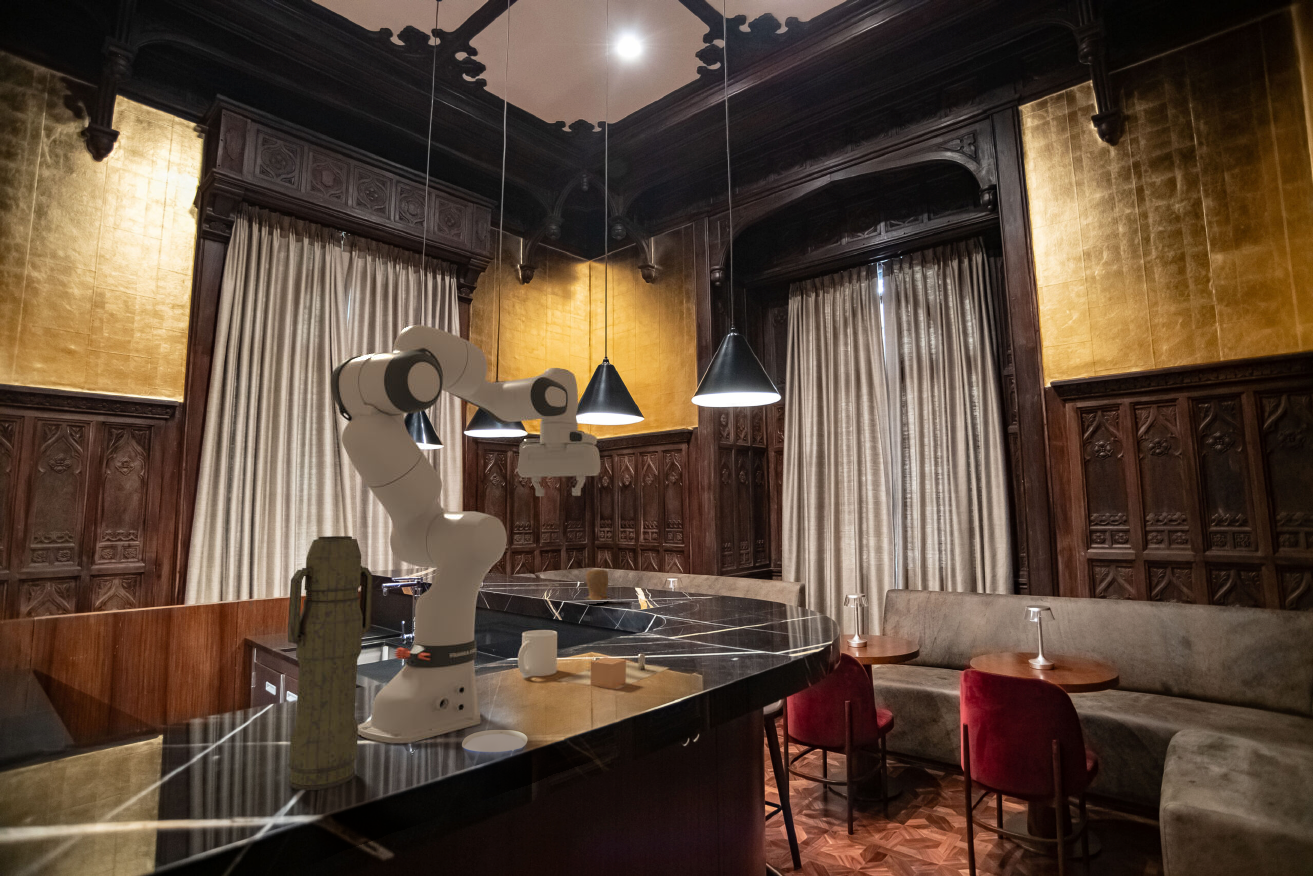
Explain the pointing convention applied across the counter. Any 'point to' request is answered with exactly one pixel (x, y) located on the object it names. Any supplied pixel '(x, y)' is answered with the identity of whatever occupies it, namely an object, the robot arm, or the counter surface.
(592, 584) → the stone cup
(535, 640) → the mug
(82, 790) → the counter surface
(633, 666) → the board
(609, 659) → the tan wooden cube
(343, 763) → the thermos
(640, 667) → the pins
